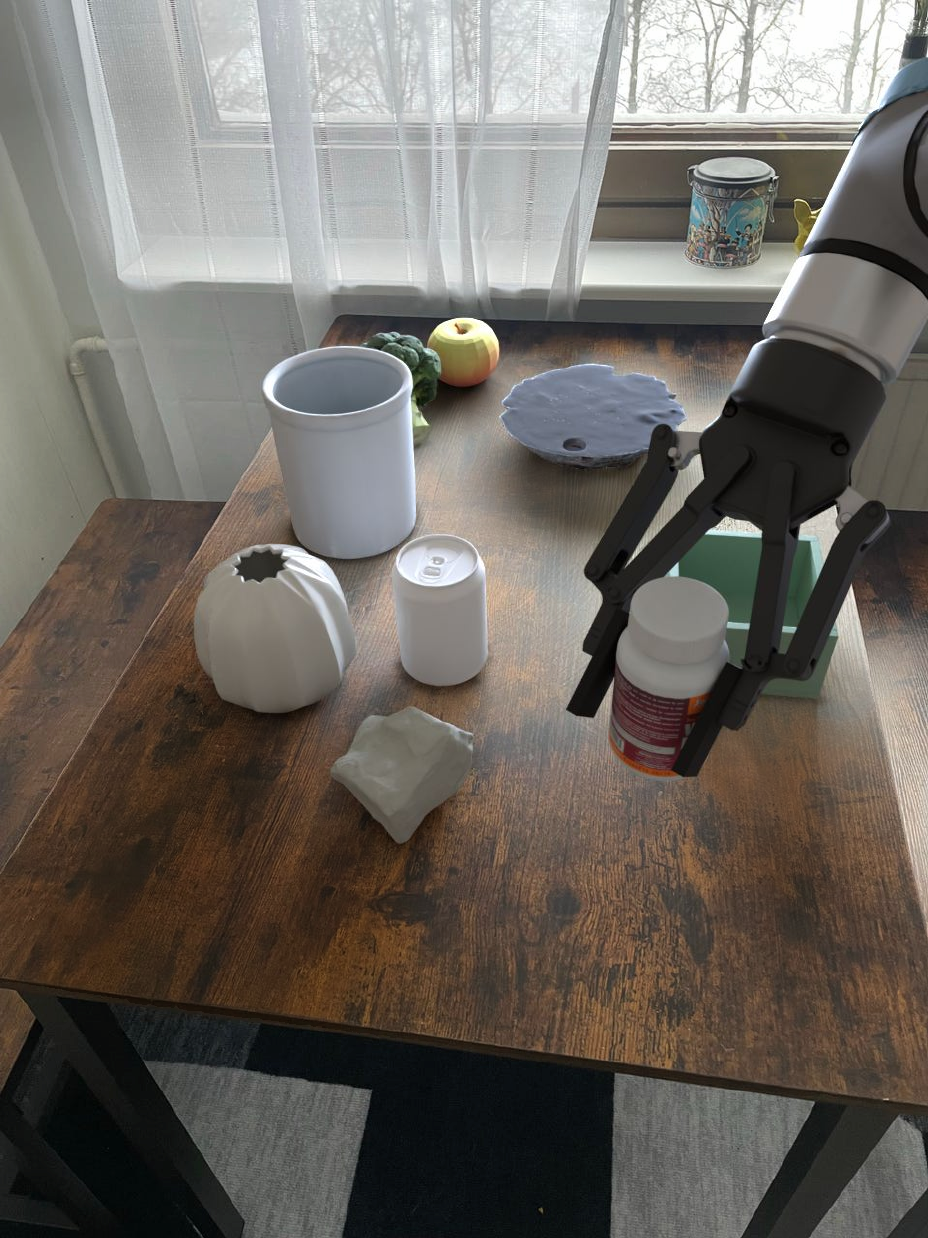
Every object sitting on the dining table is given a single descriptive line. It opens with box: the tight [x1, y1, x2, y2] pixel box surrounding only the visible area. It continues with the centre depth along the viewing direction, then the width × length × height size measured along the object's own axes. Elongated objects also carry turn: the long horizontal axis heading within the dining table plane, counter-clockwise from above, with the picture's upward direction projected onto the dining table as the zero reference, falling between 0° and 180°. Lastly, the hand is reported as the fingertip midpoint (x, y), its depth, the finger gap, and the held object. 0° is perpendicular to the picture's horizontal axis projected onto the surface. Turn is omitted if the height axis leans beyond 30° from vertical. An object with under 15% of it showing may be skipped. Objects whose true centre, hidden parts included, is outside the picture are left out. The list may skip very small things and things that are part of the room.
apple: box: [426, 317, 500, 388], centre depth 124 cm, size 10×10×8 cm
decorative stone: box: [329, 705, 475, 845], centre depth 73 cm, size 11×9×10 cm
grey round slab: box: [498, 363, 687, 471], centre depth 111 cm, size 22×22×5 cm
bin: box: [664, 529, 839, 700], centre depth 84 cm, size 14×14×8 cm
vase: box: [193, 542, 358, 714], centre depth 81 cm, size 14×14×13 cm
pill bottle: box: [608, 577, 730, 783], centre depth 53 cm, size 6×6×11 cm
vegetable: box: [358, 331, 441, 447], centre depth 115 cm, size 12×13×15 cm
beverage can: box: [390, 533, 489, 687], centre depth 82 cm, size 8×8×12 cm
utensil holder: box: [261, 345, 417, 560], centre depth 97 cm, size 15×15×18 cm
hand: (630, 742), depth 52 cm, fingers closed on pill bottle, 6 cm apart
